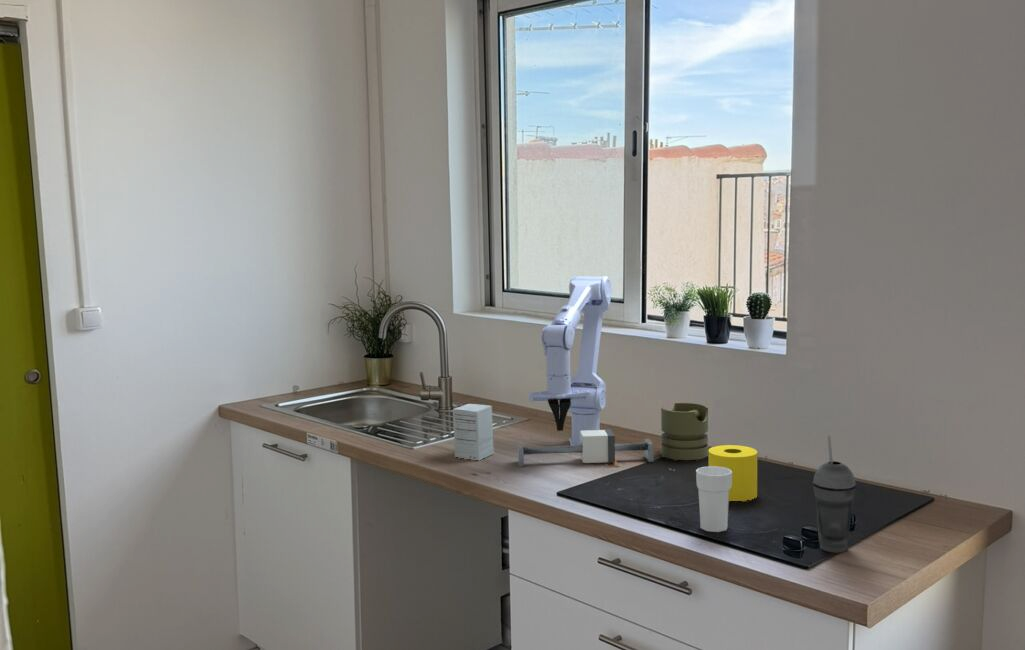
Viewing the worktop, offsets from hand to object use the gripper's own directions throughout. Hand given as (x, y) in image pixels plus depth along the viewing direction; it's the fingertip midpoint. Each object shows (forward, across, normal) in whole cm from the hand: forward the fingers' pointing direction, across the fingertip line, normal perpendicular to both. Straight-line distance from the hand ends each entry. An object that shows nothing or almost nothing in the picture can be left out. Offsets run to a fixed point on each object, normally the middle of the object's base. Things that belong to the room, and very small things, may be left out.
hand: (559, 429), depth 225 cm
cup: (+8, +25, -50) cm, 57 cm away
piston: (+8, +31, +3) cm, 32 cm away
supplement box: (+8, -21, +9) cm, 24 cm away
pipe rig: (+8, +6, 0) cm, 10 cm away
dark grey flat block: (+8, +12, 0) cm, 14 cm away
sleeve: (+8, +8, 0) cm, 12 cm away
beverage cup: (+8, +43, -63) cm, 77 cm away
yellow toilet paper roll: (+8, +34, -30) cm, 46 cm away
